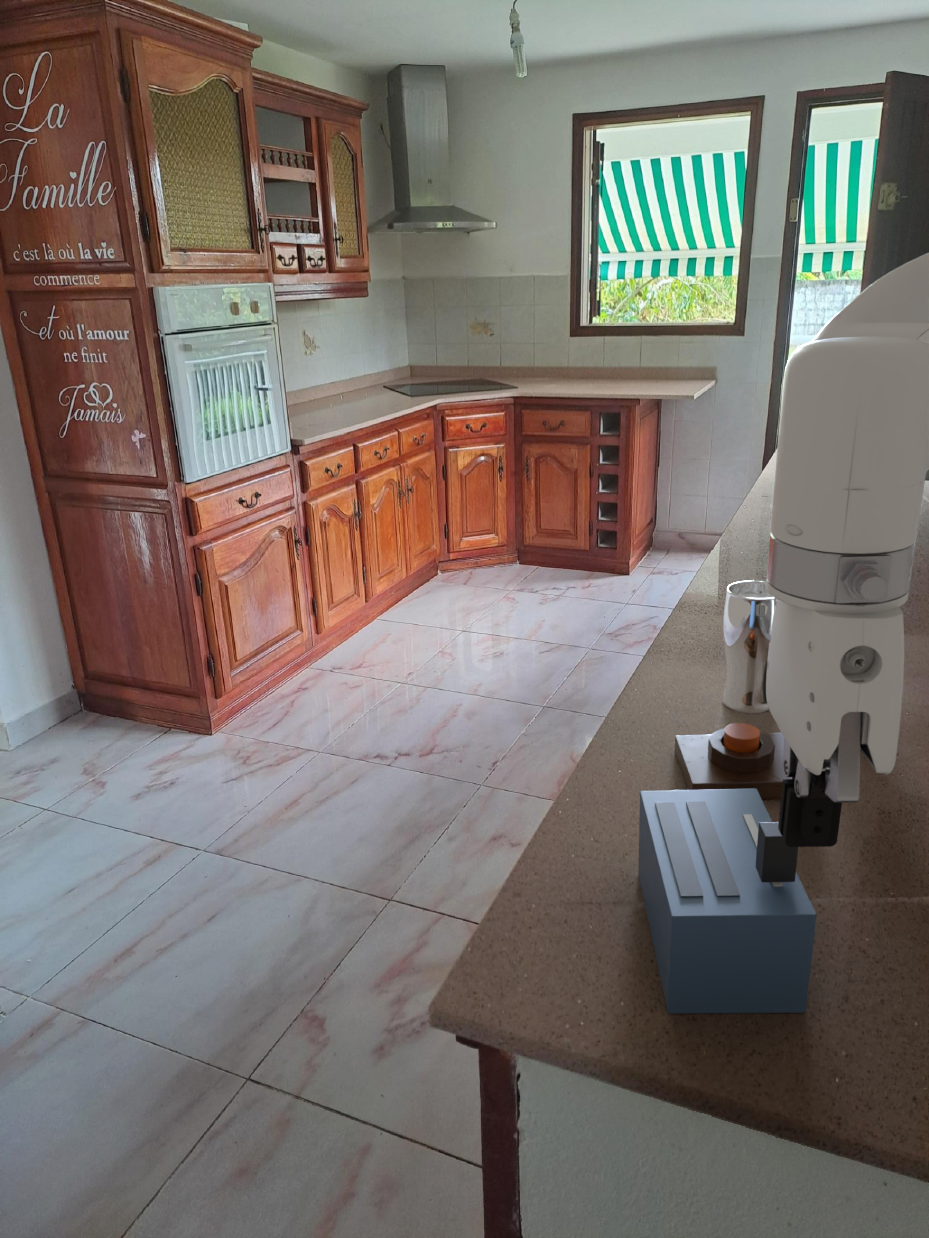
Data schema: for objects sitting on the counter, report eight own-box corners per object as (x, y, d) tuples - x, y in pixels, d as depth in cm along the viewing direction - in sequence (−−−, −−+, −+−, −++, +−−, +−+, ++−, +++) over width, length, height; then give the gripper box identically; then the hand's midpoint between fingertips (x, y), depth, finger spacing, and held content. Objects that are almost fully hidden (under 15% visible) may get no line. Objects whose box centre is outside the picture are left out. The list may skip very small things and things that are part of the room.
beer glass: (770, 720, 105) (780, 603, 99) (712, 709, 108) (718, 595, 103) (782, 696, 110) (792, 583, 105) (726, 686, 114) (733, 577, 108)
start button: (753, 736, 95) (755, 722, 94) (763, 753, 91) (764, 739, 91) (720, 737, 95) (720, 723, 94) (727, 754, 92) (728, 740, 91)
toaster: (750, 873, 79) (756, 787, 76) (805, 1012, 64) (817, 913, 61) (638, 875, 80) (639, 789, 77) (667, 1013, 65) (671, 915, 62)
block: (782, 749, 99) (785, 718, 97) (811, 799, 89) (814, 765, 88) (674, 752, 99) (675, 721, 98) (691, 802, 90) (693, 768, 89)
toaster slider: (787, 866, 66) (792, 821, 64) (795, 882, 64) (799, 836, 62) (755, 867, 66) (758, 822, 64) (761, 882, 64) (765, 836, 63)
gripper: (970, 612, 43) (917, 918, 49) (856, 529, 56) (827, 776, 63) (812, 616, 43) (780, 919, 50) (737, 533, 57) (720, 778, 64)
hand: (806, 838), depth 56 cm, fingers closed
